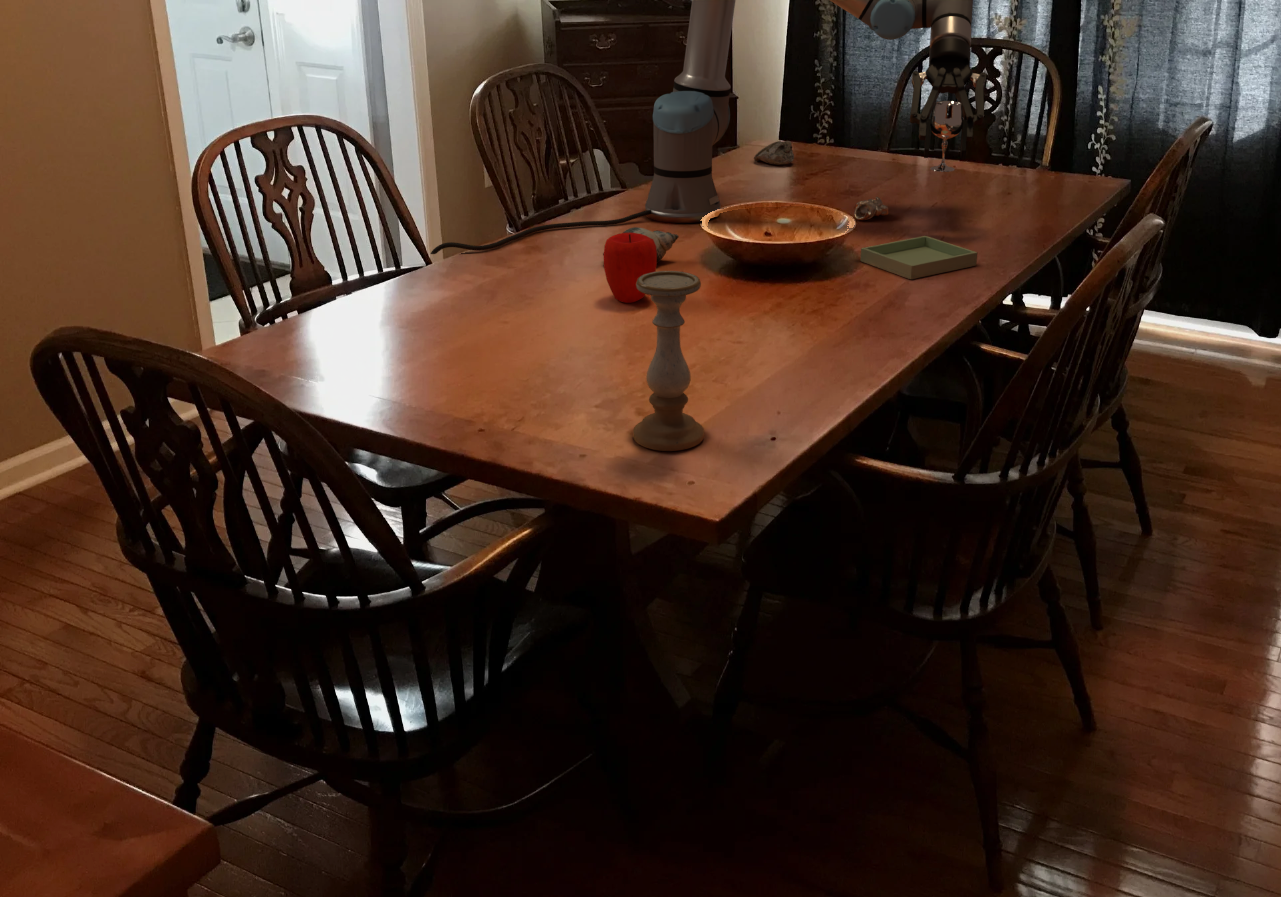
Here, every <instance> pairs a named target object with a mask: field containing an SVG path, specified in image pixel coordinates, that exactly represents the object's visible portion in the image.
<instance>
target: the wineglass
mask: <svg viewBox="0 0 1281 897" xmlns="http://www.w3.org/2000/svg"><path fill="white" fill-rule="evenodd" d="M930 119H931V126H930V131H931V133H932V134H933V135H934V136H936V137H938V138H939V139H942V143H941V149H942V153H941V154H942V156H941V162H940V164H938V165H934V166H931V167H930V168H929V170H931V171H933V172H939V173H951V172H954V171H955V167H952V166H949V165H947V163H946V158H945V157H946V151H947V148H948V144H949V143H948V140H949V139H952V138H955V137H956V136H958V135H959V134H961V132H962V126H963V120H964V118H963V110H962V103H960V102H958V101H955V100H954V101H953V100H939V101H936V102H935V105H934V107H933V109H932V112H931V115H930Z"/></svg>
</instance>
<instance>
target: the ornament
mask: <svg viewBox="0 0 1281 897" xmlns="http://www.w3.org/2000/svg"><path fill="white" fill-rule="evenodd" d="M853 215H854V217H855V219H856V220H857V221H868V220H871V219H872V218H873V217H875V216H876V217H879V216H880V215H881V216H888V215H889V207H888V205H885V204H884V202H883V200H882V199H881V198H880V197H879V196H875V199H873V198H869V199H864V200H860V201H858V202H856V203H855V209H854V214H853Z"/></svg>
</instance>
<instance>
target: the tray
mask: <svg viewBox="0 0 1281 897" xmlns="http://www.w3.org/2000/svg"><path fill="white" fill-rule="evenodd" d="M859 261H860V262H862V263H864V264H867V265H870V266H872V267H875V268H878V269H880V270H883V271H886V272H889V273H892V274H893V275H894V274H895V275H897V276H900V277H903V278H905V279H908V280H916V279H919V278H920V279H921V278H924V277H925V278H926V277H929V276H933V275H938V274H942V273H948V272H954V271H956V270H962V269H967V268H972V267H975V266H976V267H977V261H978V252H977V251H974V250H971V249H968V248H965V247H962V246H959V245H956V244H952V243H949V242H947V241H943V240H941V239H938V238H934V237H932V236H928V235H922V236H916V237H912V238H906V239H901V240H897V241H891V242H885V243H881V244H875V245H870V246H866V247H861V248H860V260H859Z"/></svg>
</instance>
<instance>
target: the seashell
mask: <svg viewBox="0 0 1281 897" xmlns="http://www.w3.org/2000/svg"><path fill="white" fill-rule="evenodd" d="M622 233H638V234H642V235H645V236H647V237H649V238H651V239H653V240H654V242H655V245H656V251H657V263H659V262H661V261H662V260H663V258H664V257H665V255H666V254H667V251H669V250H671V249H672V247H673V244H675V243H676V241H677V240H678V239H679V235H678V234H676V233H672V232H668V231H667V232H665V231H662V230H653V231H652V230H650V229H647V228H644V227H637V226H636V227H635V226H634V227H630V228H628V229H626V230H624V231H623V232H622ZM602 256H603V257H604V252H602Z"/></svg>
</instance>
